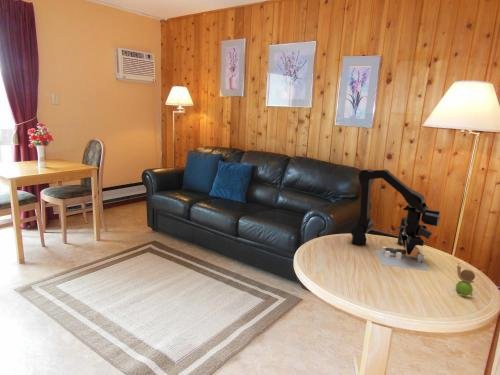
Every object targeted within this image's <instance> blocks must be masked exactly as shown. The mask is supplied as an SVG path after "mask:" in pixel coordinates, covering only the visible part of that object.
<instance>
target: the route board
mask: <svg viewBox="0 0 500 375" xmlns="http://www.w3.org/2000/svg"><path fill="white" fill-rule="evenodd" d="M374 252H375V253H376V256H377V258H378V260H379V261H380V263H381V265H382V266H387V267H396V268H403V269H412V270H420V271H429V272H430V271H431V269H430V268H429V267H428V265H427V264H425V262H424V261H423V263H420V262H417V257H410V256H406V255H405V254H402V255H401V260H400V259H396V255H393V253H390V258H385V257H384V256H385V254H384V253H382V249H374Z"/></svg>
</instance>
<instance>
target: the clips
mask: <svg viewBox="0 0 500 375" xmlns="http://www.w3.org/2000/svg"><path fill="white" fill-rule="evenodd" d="M385 248H388V247H387V246H382V249H381V250H382V253H384V254H385V256H384V257H385V258H390V251H385ZM393 248H394V249H399V248H398V247H393ZM393 255H396V259H400V260H401V255H402V253H401V252H396V253H393Z"/></svg>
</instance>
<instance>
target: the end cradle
mask: <svg viewBox="0 0 500 375" xmlns="http://www.w3.org/2000/svg"><path fill="white" fill-rule="evenodd" d="M424 258H425V255H424V254H423V252H422V251H421V250H420V249H419V252H418V256H417V262H420V263H423V262H424Z"/></svg>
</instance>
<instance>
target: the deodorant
mask: <svg viewBox="0 0 500 375" xmlns="http://www.w3.org/2000/svg"><path fill="white" fill-rule="evenodd" d="M406 218H407V216H406V217H401V220H400V224H399V227H400V226H405V223H404V221H406ZM400 234H402V231H401V233H399V232H398V237H397V245H398V246H401V247H404V246H403V242H402V239H401V236H400Z"/></svg>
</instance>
